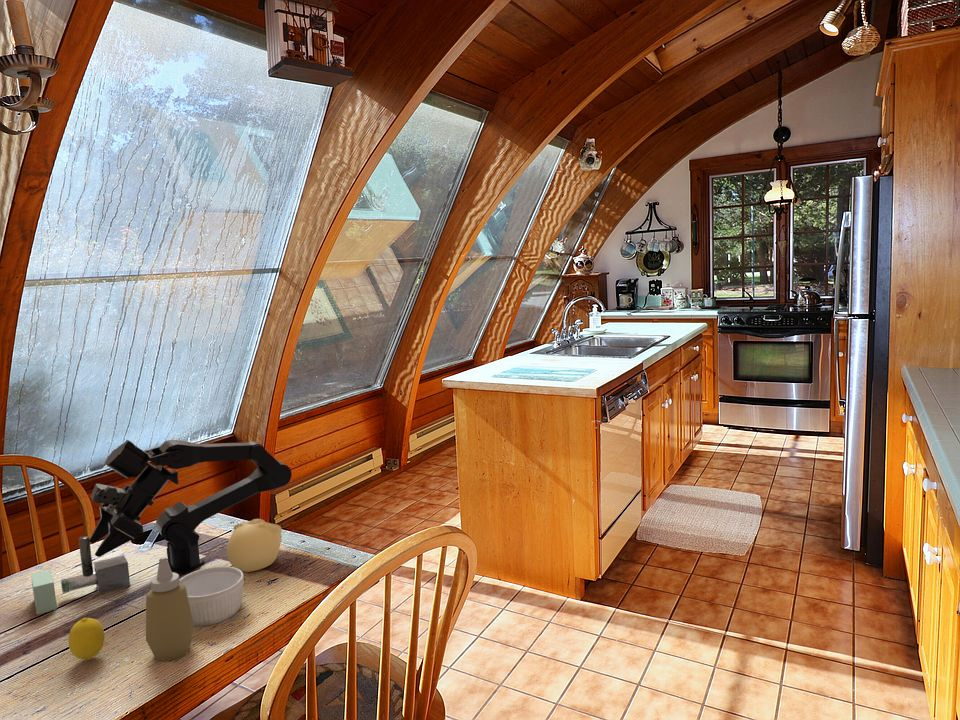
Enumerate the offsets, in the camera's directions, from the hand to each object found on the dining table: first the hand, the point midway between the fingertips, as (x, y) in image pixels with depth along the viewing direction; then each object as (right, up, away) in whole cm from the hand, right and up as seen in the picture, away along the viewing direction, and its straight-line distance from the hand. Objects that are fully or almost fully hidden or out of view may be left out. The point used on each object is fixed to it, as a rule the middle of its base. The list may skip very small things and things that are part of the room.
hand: (93, 549), depth 145 cm
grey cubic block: (+3, -9, +3) cm, 10 cm away
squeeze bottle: (+28, -12, -24) cm, 39 cm away
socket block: (-8, -10, -4) cm, 14 cm away
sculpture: (+31, -7, +12) cm, 34 cm away
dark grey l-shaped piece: (0, -8, +1) cm, 8 cm away
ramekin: (+30, -10, -10) cm, 33 cm away
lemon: (+14, -13, -25) cm, 32 cm away
